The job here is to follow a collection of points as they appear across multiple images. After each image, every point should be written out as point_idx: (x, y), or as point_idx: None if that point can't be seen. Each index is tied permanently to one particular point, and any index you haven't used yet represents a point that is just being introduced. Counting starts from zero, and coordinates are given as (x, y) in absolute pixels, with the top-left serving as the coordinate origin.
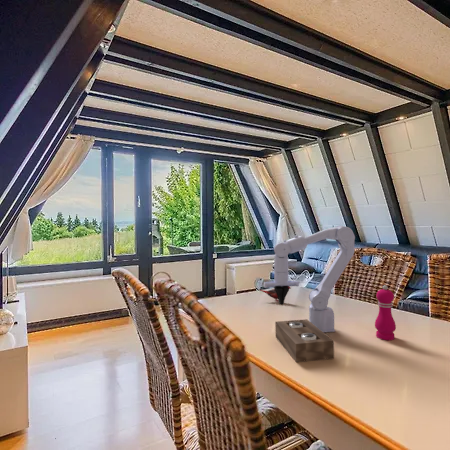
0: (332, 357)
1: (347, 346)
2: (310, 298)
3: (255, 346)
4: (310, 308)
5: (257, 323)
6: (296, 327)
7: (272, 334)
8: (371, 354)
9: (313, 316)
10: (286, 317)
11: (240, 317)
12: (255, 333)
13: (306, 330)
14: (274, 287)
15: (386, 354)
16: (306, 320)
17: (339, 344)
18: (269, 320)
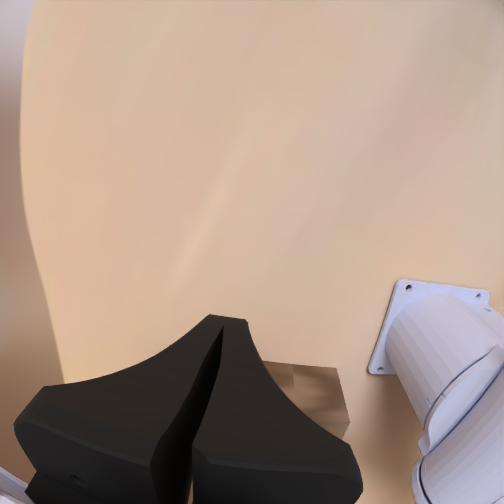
0: None
1: (378, 464)
2: (484, 435)
3: (79, 380)
4: (428, 415)
5: (141, 116)
6: None
7: (164, 313)
8: (385, 492)
9: (411, 402)
10: (377, 71)
11: (99, 6)
12: (90, 268)
13: None
14: (42, 461)
15: None
16: (333, 434)
17: (371, 454)
18: (238, 80)
